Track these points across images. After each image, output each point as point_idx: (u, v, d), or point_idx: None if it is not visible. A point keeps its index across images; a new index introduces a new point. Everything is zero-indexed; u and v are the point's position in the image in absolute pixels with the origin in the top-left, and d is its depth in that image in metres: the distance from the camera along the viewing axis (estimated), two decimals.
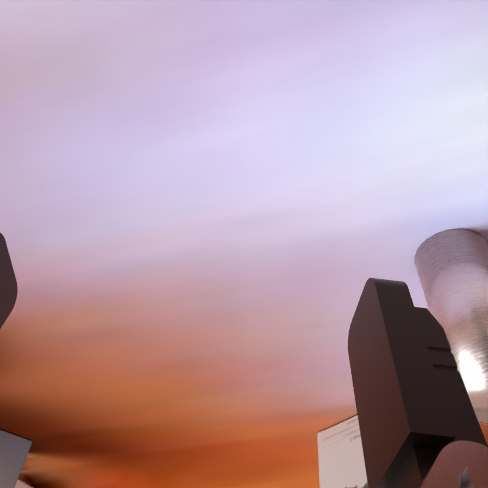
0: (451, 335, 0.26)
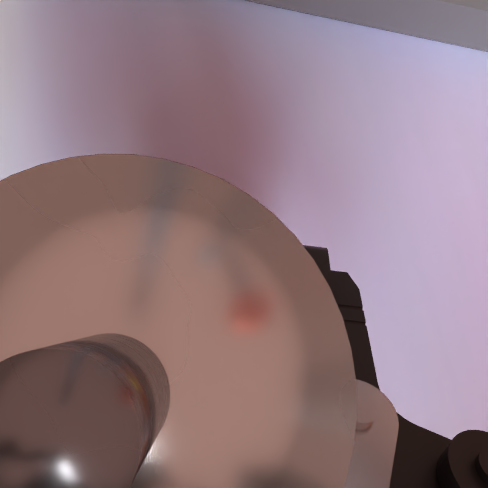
0: None
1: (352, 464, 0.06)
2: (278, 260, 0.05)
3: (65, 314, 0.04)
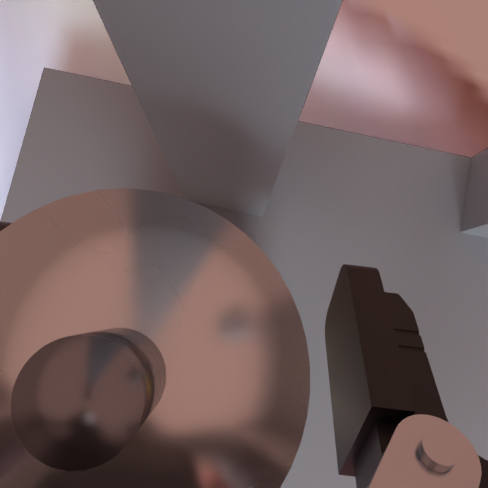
0: None
1: None
2: (250, 271, 0.06)
3: (85, 313, 0.06)
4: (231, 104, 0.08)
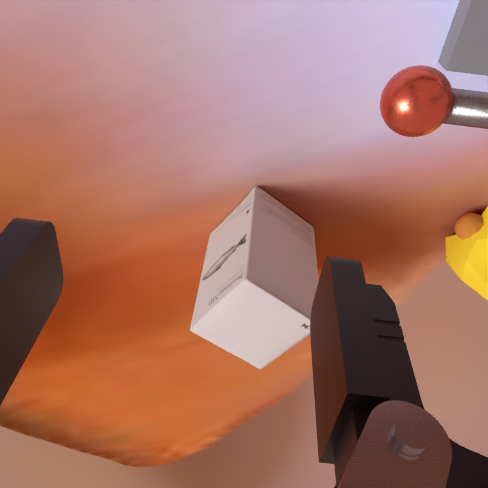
0: None
1: None
2: None
3: None
4: None
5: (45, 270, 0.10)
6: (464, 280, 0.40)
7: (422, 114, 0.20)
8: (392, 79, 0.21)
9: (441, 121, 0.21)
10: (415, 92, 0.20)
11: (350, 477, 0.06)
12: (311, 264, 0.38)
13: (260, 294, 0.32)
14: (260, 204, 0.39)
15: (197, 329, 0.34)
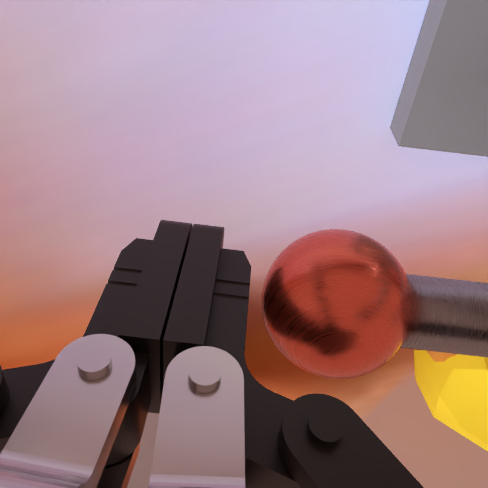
0: None
1: (207, 426, 0.06)
2: None
3: None
4: None
5: None
6: None
7: (339, 360, 0.09)
8: (279, 262, 0.10)
9: None
10: (320, 314, 0.09)
11: (161, 439, 0.06)
12: None
13: None
14: None
15: None
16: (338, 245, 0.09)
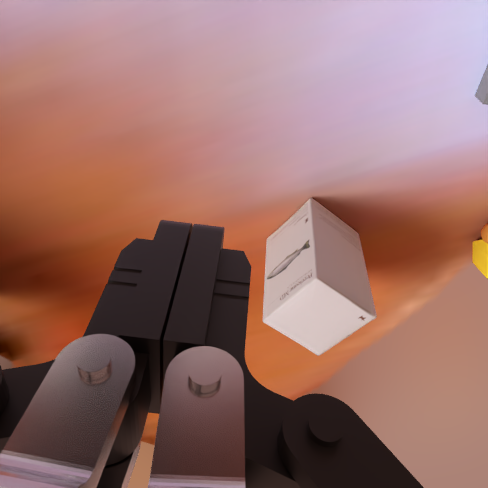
0: None
1: (207, 426, 0.06)
2: None
3: None
4: None
5: None
6: None
7: None
8: None
9: None
10: None
11: (161, 439, 0.06)
12: (361, 265, 0.44)
13: (327, 291, 0.38)
14: (317, 214, 0.45)
15: (269, 320, 0.41)
16: None
